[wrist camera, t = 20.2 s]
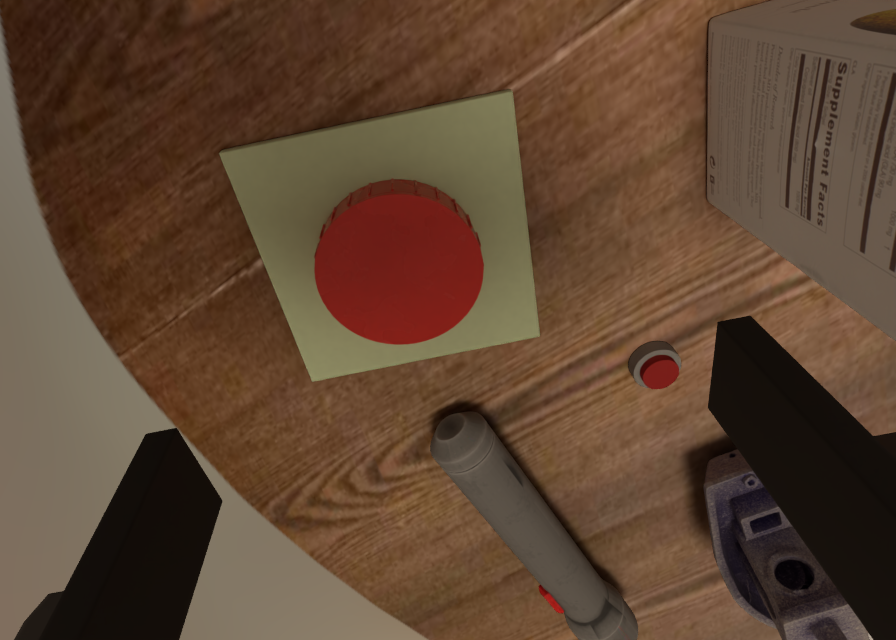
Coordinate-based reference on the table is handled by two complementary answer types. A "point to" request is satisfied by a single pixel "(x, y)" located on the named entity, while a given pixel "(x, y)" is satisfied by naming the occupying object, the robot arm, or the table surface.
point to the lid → (398, 262)
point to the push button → (655, 365)
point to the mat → (378, 159)
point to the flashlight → (530, 528)
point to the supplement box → (810, 140)
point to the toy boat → (770, 559)
